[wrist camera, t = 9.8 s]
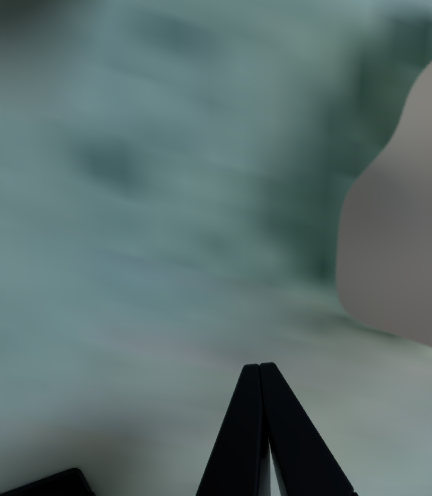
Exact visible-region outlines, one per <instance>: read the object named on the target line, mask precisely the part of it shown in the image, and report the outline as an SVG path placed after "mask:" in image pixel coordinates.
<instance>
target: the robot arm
mask: <svg viewBox="0 0 432 496" xmlns="http://www.w3.org/2000/svg"><path fill="white" fill-rule="evenodd" d="M269 443H270V447H269ZM270 450H271V455H272V459H273V464H274V468H275V472H276V477H277V481H278V485H279V490H280V494H281V496H358V494H357V493H356V492H354V488H353V486H352V485H351V483H350V482H349V480H348V479H347V477H346V475H345V474H344V472H343V471H342V469H341V467H340V466H339V464H338V463H337V461H336V460H335V458H334V456H333V455H332V453H331V452H330V450H329V448H328V447H327V445H326V444H325V442H324V440H323V439H322V437H321V436H320V434H319V433H318V431H317V429H316V428H315V426H314V425H313V423H312V421H311V420H310V418H309V417H308V415H307V414H306V412H305V410H304V409H303V407H302V406H301V404H300V402H299V401H298V399H297V398H296V396H295V394H294V393H293V391H292V390H291V388H290V387H289V385H288V383H287V382H286V380H285V379H284V377H283V375H282V374H281V372H280V371H279V369H278V368H277V366H276V364H275V363H273V362H269V363H261V364H260V365H258V364H247V365H244V367H243V369H242V371H241V374H240V377H239V379H238V382H237V385H236V388H235V390H234V393H233V396H232V398H231V401H230V404H229V406H228V409H227V412H226V415H225V417H224V420H223V423H222V425H221V428H220V431H219V433H218V436H217V439H216V442H215V444H214V447H213V450H212V452H211V455H210V458H209V460H208V463H207V466H206V468H205V471H204V474H203V477H202V479H201V482H200V485H199V487H198V490H197V493H196V496H271V487H270ZM0 496H96V495H95V493H94V492H93V491H92V490H91V488H90V486H89V484H88V483H87V481H86V479H85V477H84V475H83V473H82V471H81V470H80V469H78V468H72V469H69V470H66V471H63V472H61V473H58V474H55V475H52V476H50V477H47V478H44V479H41V480H39V481H36V482H33V483H30V484H28V485H25V486H22V487H19V488H17V489H14V490H11V491H9V492H6V493H3V494H0Z"/></svg>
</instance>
